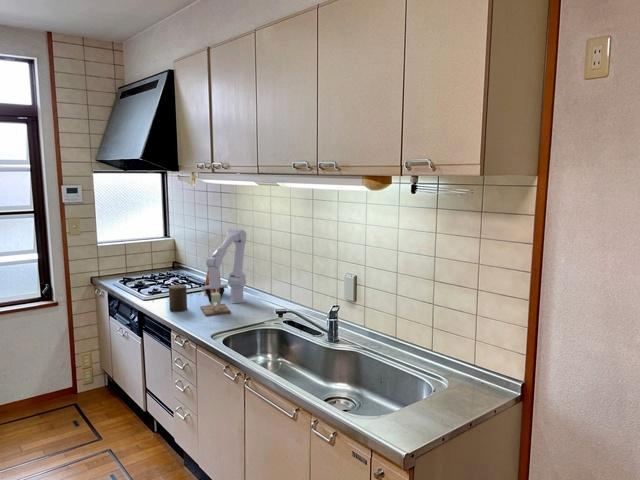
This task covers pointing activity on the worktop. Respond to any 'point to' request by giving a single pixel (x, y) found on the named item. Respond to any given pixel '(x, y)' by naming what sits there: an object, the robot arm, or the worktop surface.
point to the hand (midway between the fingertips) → (215, 301)
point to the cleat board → (212, 312)
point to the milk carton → (208, 284)
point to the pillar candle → (177, 298)
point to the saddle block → (215, 298)
